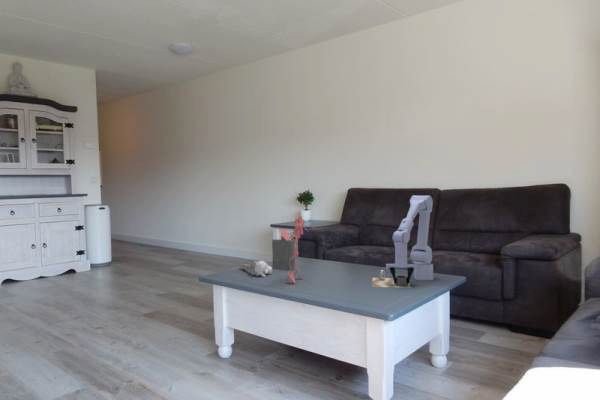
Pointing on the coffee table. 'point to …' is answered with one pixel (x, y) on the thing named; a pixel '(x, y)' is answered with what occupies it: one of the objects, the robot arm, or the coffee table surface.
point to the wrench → (250, 267)
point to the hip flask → (283, 254)
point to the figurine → (297, 232)
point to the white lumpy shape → (263, 268)
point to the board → (386, 283)
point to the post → (382, 275)
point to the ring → (401, 280)
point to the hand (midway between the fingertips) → (401, 283)
